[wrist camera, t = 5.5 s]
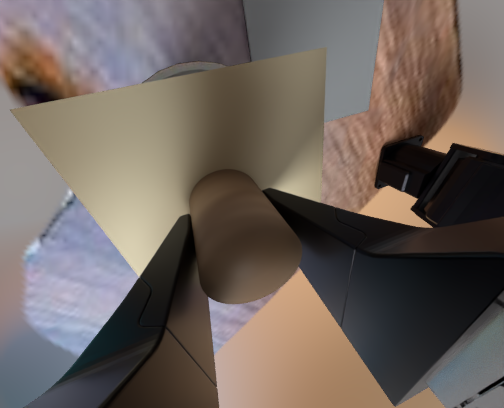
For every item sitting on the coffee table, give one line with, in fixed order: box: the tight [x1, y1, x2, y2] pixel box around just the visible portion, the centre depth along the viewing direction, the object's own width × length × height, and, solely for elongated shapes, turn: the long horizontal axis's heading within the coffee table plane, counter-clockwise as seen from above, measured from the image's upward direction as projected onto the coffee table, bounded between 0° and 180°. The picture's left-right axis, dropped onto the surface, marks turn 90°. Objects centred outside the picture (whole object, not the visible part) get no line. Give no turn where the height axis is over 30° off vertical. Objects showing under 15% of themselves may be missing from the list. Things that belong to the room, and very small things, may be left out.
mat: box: [243, 0, 384, 123], centre depth 19 cm, size 13×13×1 cm
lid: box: [10, 47, 327, 304], centre depth 8 cm, size 10×10×4 cm
